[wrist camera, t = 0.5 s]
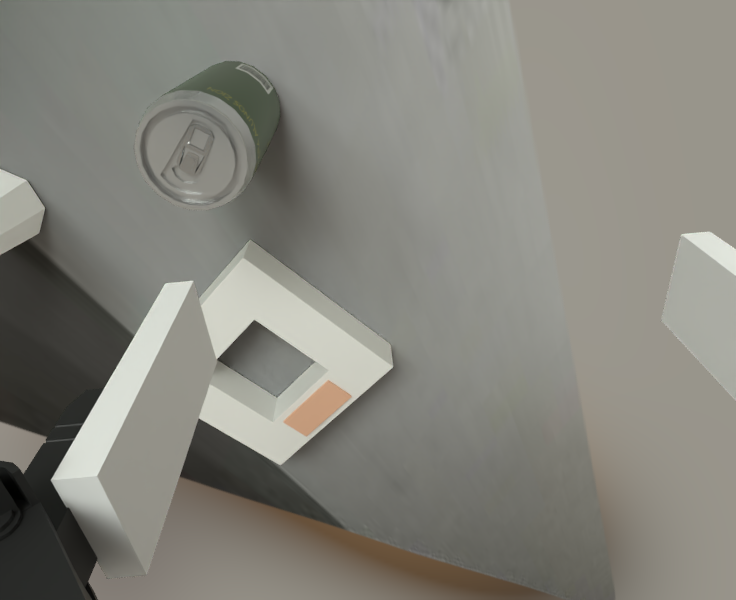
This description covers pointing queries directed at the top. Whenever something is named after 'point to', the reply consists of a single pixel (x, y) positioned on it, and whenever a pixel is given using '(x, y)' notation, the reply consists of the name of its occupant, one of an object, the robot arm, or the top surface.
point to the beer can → (207, 136)
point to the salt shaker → (18, 211)
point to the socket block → (303, 331)
